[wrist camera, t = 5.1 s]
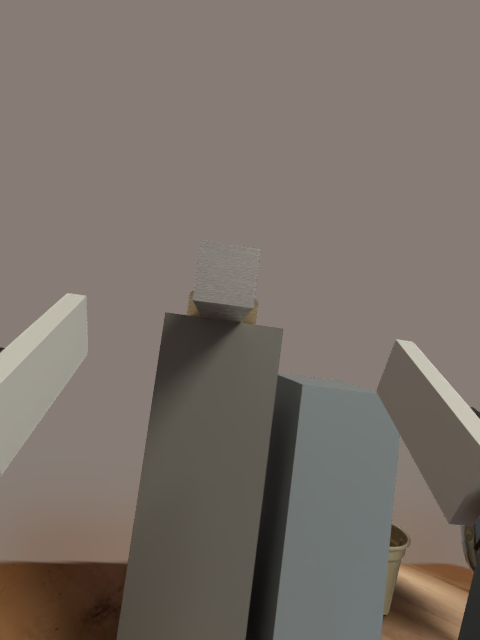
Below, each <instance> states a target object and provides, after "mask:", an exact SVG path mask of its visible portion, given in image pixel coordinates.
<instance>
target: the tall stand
mask: <svg viewBox="0 0 480 640" xmlns="http://www.w3.org/2000/svg"><path fill="white" fill-rule="evenodd" d="M282 335H283V329H281V328H274V327H267V326H259V325H253V324H245V323H238V322H231V321H224V320H216V319H209V318H202V317H195V316H187V315H180V314H173V313H165V319H164V326H163V332H162V339H161V345H160V352H159V359H158V365H157V372H156V379H155V386H154V392H153V399H152V405H151V413H150V419H149V425H148V432H147V439H146V445H145V452H144V459H143V465H142V472H141V479H140V485H139V492H138V499H137V505H136V512H135V519H134V525H133V532H132V539H131V546H130V553H129V559H128V565H127V572H126V579H125V586H124V592H123V599H122V606H121V612H120V619H119V626H118V632H117V639H116V640H245V638H246V630H247V622H248V614H249V606H250V598H251V589H252V581H253V573H254V565H255V557H256V548H257V540H258V532H259V524H260V516H261V508H262V499H263V491H264V483H265V475H266V467H267V458H268V450H269V442H270V434H271V426H272V418H273V409H274V401H275V393H276V385H277V377H278V368H279V359H280V352H281V344H282Z"/></svg>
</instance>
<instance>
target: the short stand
mask: <svg viewBox="0 0 480 640" xmlns="http://www.w3.org/2000/svg"><path fill="white" fill-rule="evenodd" d="M399 439H400V434H399V432H398V430H397V428H396V426H395V425H394V423H393V421H392V419H391V417H390V416H389V414H388V412H387V410H386V408H385V406H384V405H383V403H382V401H381V399H380V397H379V395H378V394H377V392H376V390H373V389H369V388H365V387H361V386H357V385H353V384H349V383H345V382H341V381H337V380H329V379H321V378H314V377H306V376H299V375H290V374H283V373H278V377H277V385H276V393H275V401H274V409H273V418H272V426H271V434H270V442H269V450H268V458H267V467H266V475H265V483H264V491H263V499H262V508H261V516H260V524H259V532H258V540H257V548H256V557H255V565H254V573H253V581H252V589H251V598H250V606H249V614H248V622H247V630H246V638H245V640H381V632H382V621H383V611H384V600H385V589H386V578H387V568H388V557H389V546H390V536H391V525H392V513H393V503H394V492H395V481H396V471H397V460H398V449H399Z"/></svg>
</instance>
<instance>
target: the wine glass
mask: <svg viewBox="0 0 480 640" xmlns="http://www.w3.org/2000/svg"><path fill="white" fill-rule="evenodd" d="M460 530H461V541H462V547H463V553H464V556H465V560H466V562H467V563H468V565H469V567H470V569H471V571H472V572H473V574H474V571H475V567H476V562H477V558H478V554H479V550H480V548H479V549H478V551H476V550H474V549H473V548H474V546H475V545H476V543H477V542H478V540H479V539H480V516H479V517H478V519H477V520H476V522H475V524H474V525H473V526H465V525H460Z"/></svg>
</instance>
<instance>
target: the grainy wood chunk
mask: <svg viewBox="0 0 480 640" xmlns="http://www.w3.org/2000/svg"><path fill="white" fill-rule="evenodd" d="M260 255H261V249H258V248H252V247H245V246H238V245H231V244H224V243H218V242H211V241H204V240H201V245H200V252H199V259H198V266H197V272H196V280H195V287H194V291H192V292H190V296H189V302H188V309H187V316H195V317H202V318H209V319H216V320H224V321H231V322H238V323H245V324H253V325H256V318H257V310H258V301H257V300H255V293H256V284H257V278H258V270H259V263H260Z"/></svg>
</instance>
